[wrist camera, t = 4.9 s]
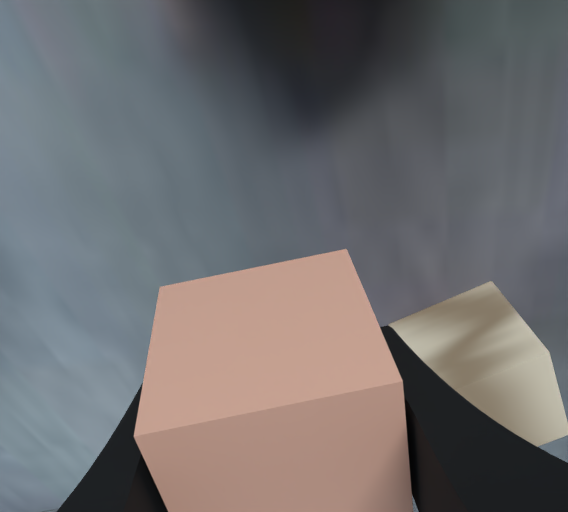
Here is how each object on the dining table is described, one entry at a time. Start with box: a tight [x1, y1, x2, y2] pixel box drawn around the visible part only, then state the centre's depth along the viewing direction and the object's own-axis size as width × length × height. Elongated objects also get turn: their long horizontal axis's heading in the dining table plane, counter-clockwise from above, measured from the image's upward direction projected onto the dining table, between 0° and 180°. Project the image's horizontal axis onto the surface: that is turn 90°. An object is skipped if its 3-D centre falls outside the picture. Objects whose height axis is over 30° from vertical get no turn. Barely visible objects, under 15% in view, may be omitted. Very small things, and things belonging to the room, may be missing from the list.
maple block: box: [388, 281, 568, 446], centre depth 23 cm, size 5×5×5 cm
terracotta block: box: [134, 249, 413, 512], centre depth 13 cm, size 5×5×5 cm
